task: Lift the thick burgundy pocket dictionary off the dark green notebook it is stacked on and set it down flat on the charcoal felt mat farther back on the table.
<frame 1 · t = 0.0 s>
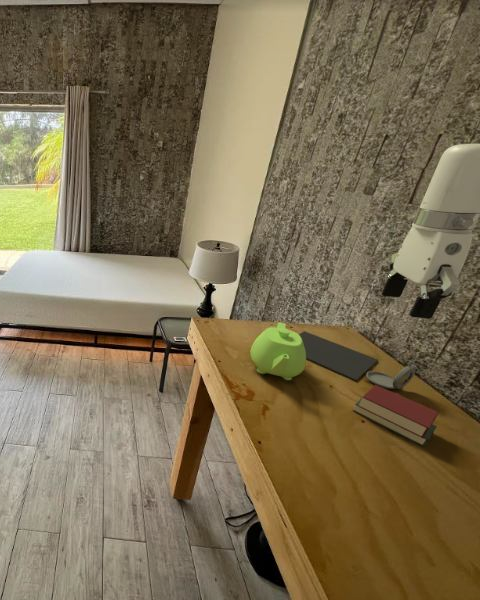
hand: (404, 306, 64), 28 cm above the worktop, tool pointing down, fingers open, 9 cm apart
felt mat: (326, 354, 97), on the worktop
top book: (394, 414, 72), point 2 cm above the worktop, touching bottom book
pocket watch: (385, 385, 84), on the worktop
teapot: (273, 368, 91), on the worktop
bottom book: (390, 421, 73), on the worktop, touching top book
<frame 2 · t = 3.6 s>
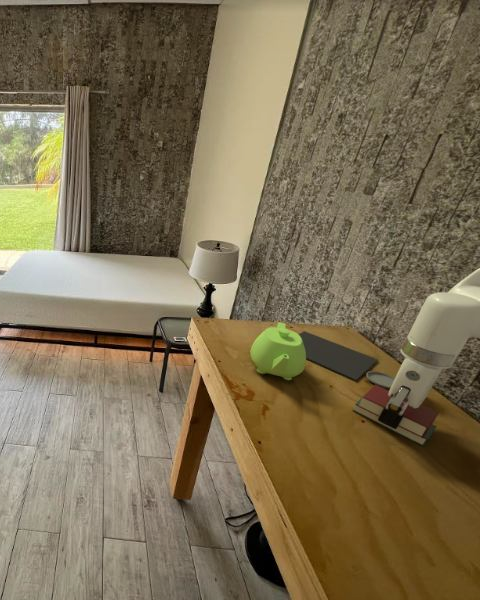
hand: (393, 416, 72), 2 cm above the worktop, tool pointing down, fingers closed on top book, 7 cm apart
top book: (394, 414, 72), point 2 cm above the worktop, touching bottom book, gripper
everything else where it was.
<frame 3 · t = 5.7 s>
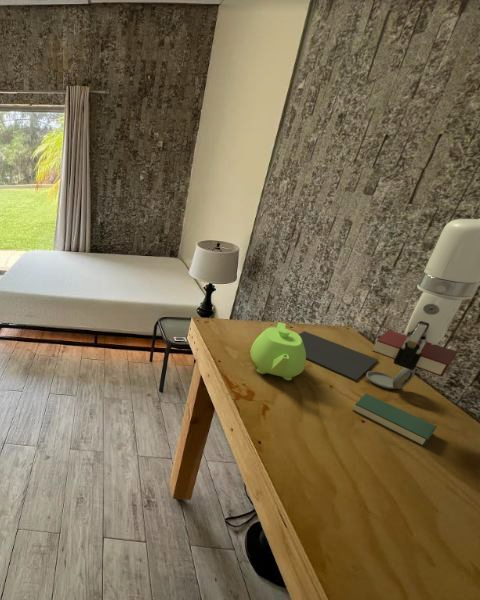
hand: (409, 359, 69), 15 cm above the worktop, tool pointing down, fingers closed on top book, 7 cm apart
top book: (410, 357, 69), point 16 cm above the worktop, touching gripper
bottom book: (390, 421, 73), on the worktop
everything else where it was.
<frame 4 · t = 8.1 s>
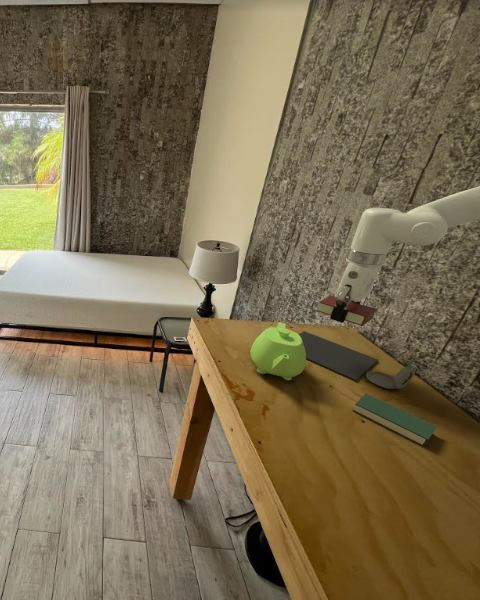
hand: (343, 316, 90), 14 cm above the worktop, tool pointing down, fingers closed on top book, 7 cm apart
top book: (343, 314, 90), point 14 cm above the worktop, touching gripper
everything else where it was.
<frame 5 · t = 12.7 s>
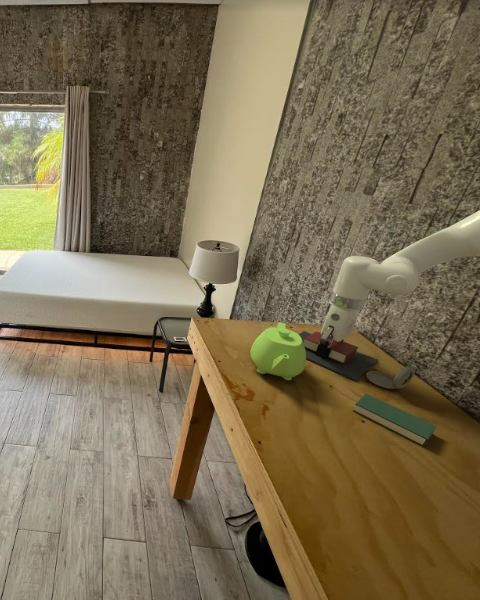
hand: (327, 352, 96), 1 cm above the worktop, tool pointing down, fingers closed on top book, 7 cm apart
top book: (327, 350, 96), point 1 cm above the worktop, touching gripper
everything else where it was.
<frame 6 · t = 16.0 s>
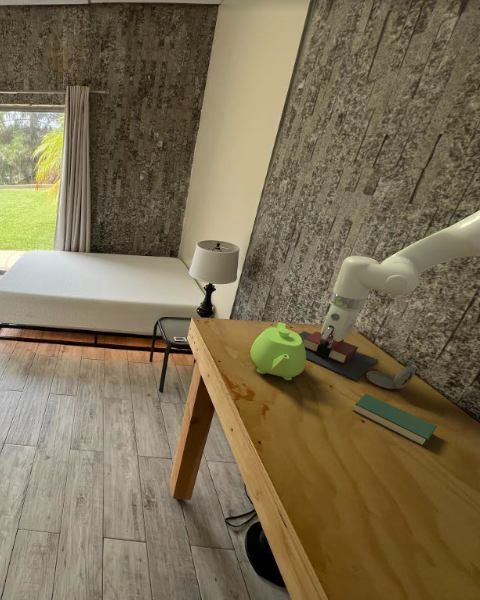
hand: (327, 352, 96), 1 cm above the worktop, tool pointing down, fingers closed on top book, 7 cm apart
top book: (327, 350, 96), point 1 cm above the worktop, touching gripper
everything else where it was.
when the fingers open (1 cm above the worktop, at t = 18.7 s): top book stays where it is, resting on felt mat.
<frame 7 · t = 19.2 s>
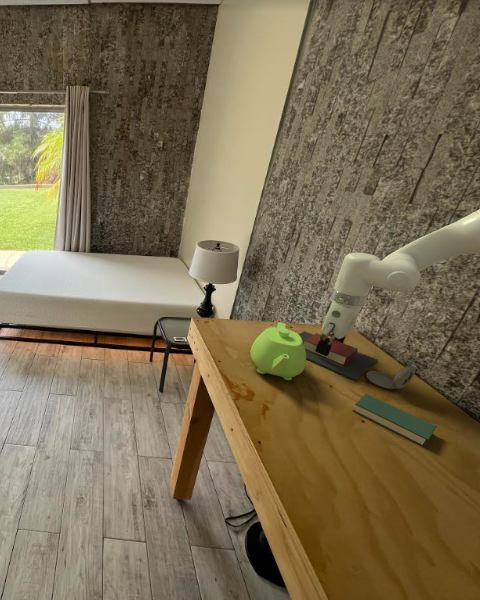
hand: (328, 348, 96), 2 cm above the worktop, tool pointing down, fingers open, 9 cm apart
top book: (327, 352, 96), point 1 cm above the worktop, touching felt mat
everything else where it was.
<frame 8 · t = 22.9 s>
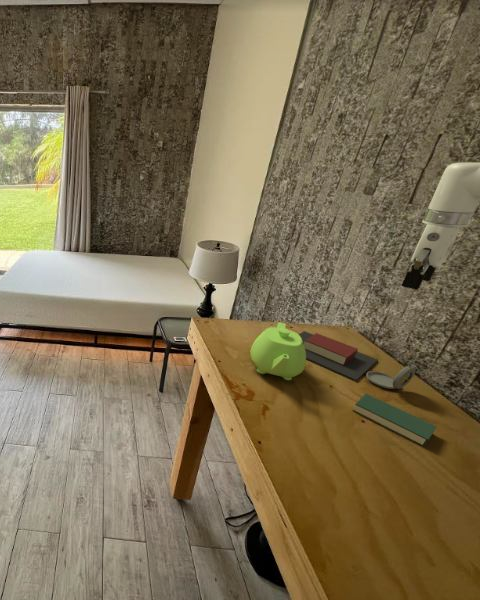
hand: (415, 283, 84), 24 cm above the worktop, tool pointing down, fingers open, 9 cm apart
nothing on the worktop moved.
at the end: top book inside the target area on the felt mat (0.2 cm from its centre), point 0.6 cm above the felt mat's base; top book touching felt mat; bottom book moved 0.0 cm from its start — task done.
